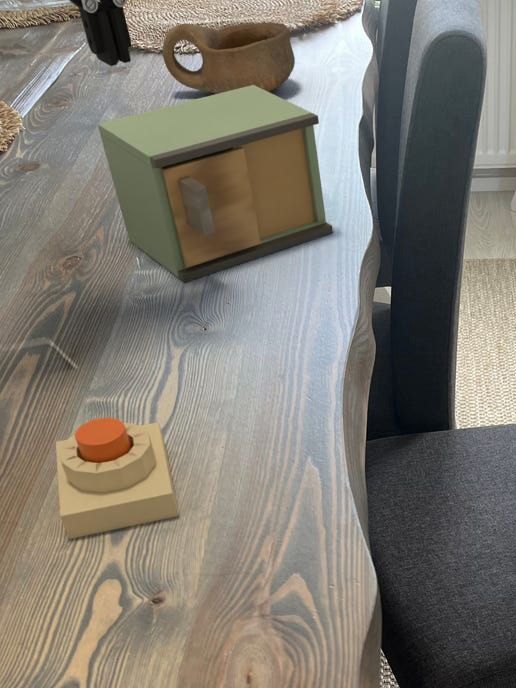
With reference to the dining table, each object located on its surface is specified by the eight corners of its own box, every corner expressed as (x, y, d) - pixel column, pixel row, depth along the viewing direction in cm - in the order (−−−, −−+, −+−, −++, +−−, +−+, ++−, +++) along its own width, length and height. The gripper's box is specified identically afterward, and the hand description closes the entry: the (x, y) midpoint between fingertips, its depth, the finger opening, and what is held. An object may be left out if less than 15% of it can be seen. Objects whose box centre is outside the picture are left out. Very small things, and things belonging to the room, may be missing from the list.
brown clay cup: (178, 109, 136) (157, 23, 131) (174, 109, 147) (155, 30, 142) (307, 91, 139) (292, 6, 134) (293, 92, 151) (279, 14, 146)
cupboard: (184, 282, 103) (154, 160, 94) (129, 240, 110) (97, 123, 101) (333, 232, 110) (318, 115, 102) (272, 196, 118) (253, 84, 109)
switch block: (179, 516, 75) (166, 472, 72) (69, 539, 74) (51, 495, 71) (165, 444, 82) (152, 402, 79) (64, 464, 80) (47, 421, 78)
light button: (133, 459, 74) (126, 439, 73) (83, 469, 74) (75, 449, 72) (129, 433, 77) (122, 413, 76) (80, 442, 76) (73, 422, 75)
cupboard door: (203, 279, 100) (180, 180, 93) (184, 265, 103) (161, 168, 96) (278, 254, 104) (261, 157, 97) (258, 241, 106) (241, 146, 99)
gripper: (118, -233, 78) (174, 34, 91) (-79, -216, 72) (12, 69, 85) (161, -227, 74) (213, 52, 87) (-44, -208, 68) (46, 90, 81)
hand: (114, 59), depth 86 cm, fingers closed
